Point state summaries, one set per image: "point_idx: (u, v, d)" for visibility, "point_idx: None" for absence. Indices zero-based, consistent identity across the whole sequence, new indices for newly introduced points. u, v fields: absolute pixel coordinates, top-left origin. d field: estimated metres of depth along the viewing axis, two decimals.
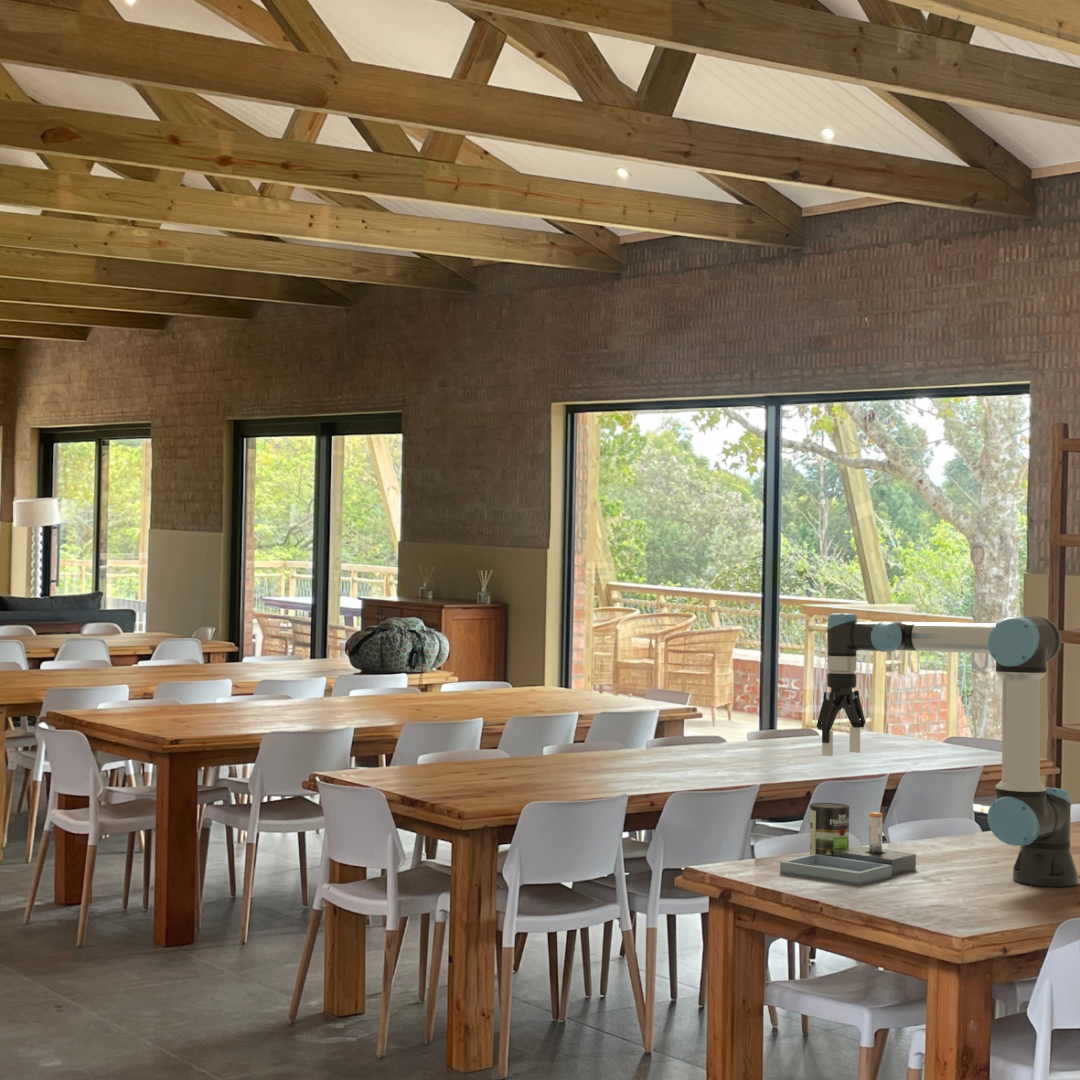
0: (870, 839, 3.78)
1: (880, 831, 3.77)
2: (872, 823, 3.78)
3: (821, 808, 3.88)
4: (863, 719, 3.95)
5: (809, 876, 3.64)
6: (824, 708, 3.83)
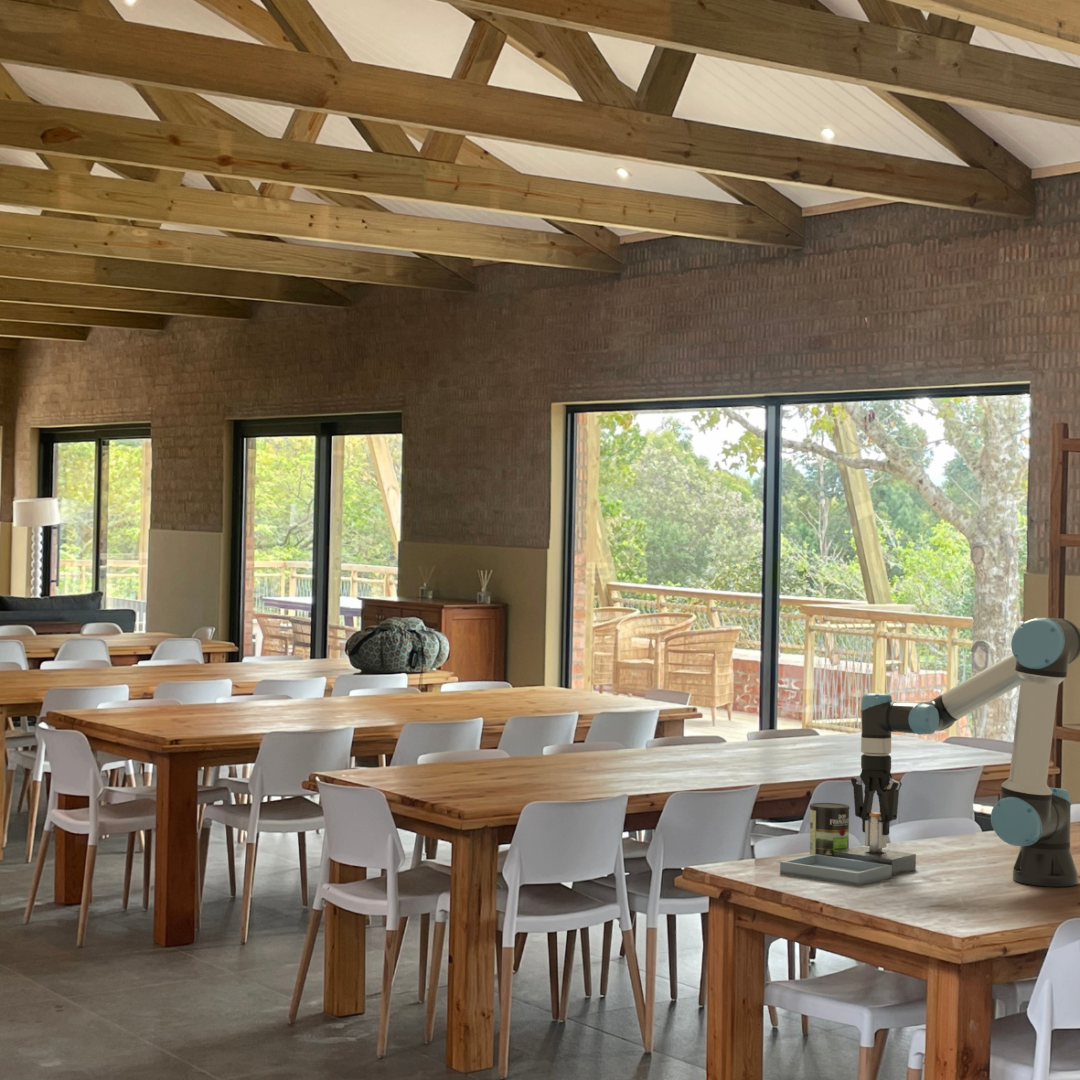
0: (870, 839, 3.78)
1: None
2: (872, 823, 3.78)
3: (821, 808, 3.88)
4: (890, 814, 3.75)
5: (809, 876, 3.64)
6: None
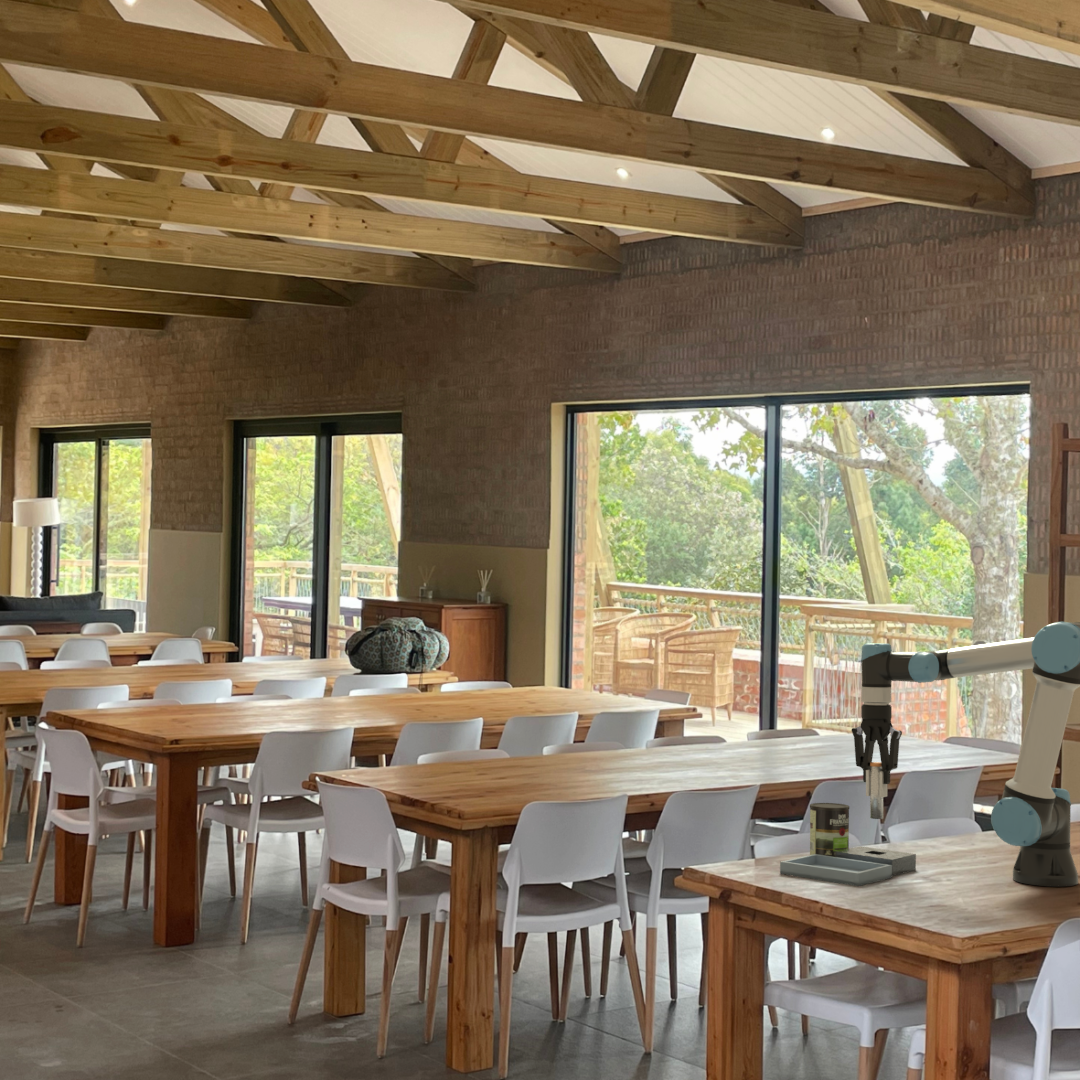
0: (871, 788, 3.79)
1: None
2: (872, 773, 3.78)
3: (821, 808, 3.88)
4: (890, 763, 3.75)
5: (809, 876, 3.64)
6: None
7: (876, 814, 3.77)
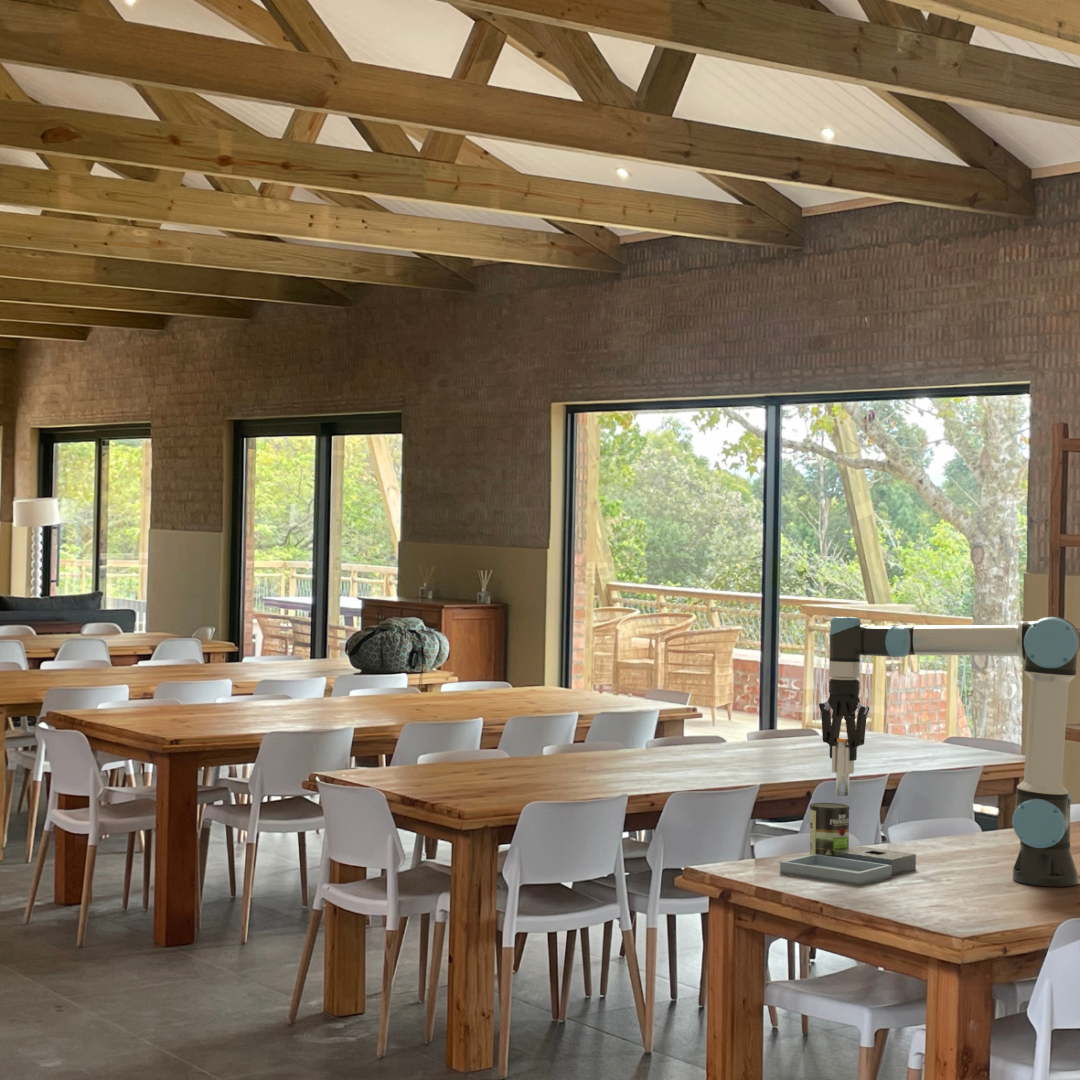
0: (837, 765, 3.71)
1: None
2: (839, 749, 3.70)
3: (821, 808, 3.88)
4: (857, 739, 3.67)
5: (809, 876, 3.64)
6: None
7: (841, 791, 3.70)
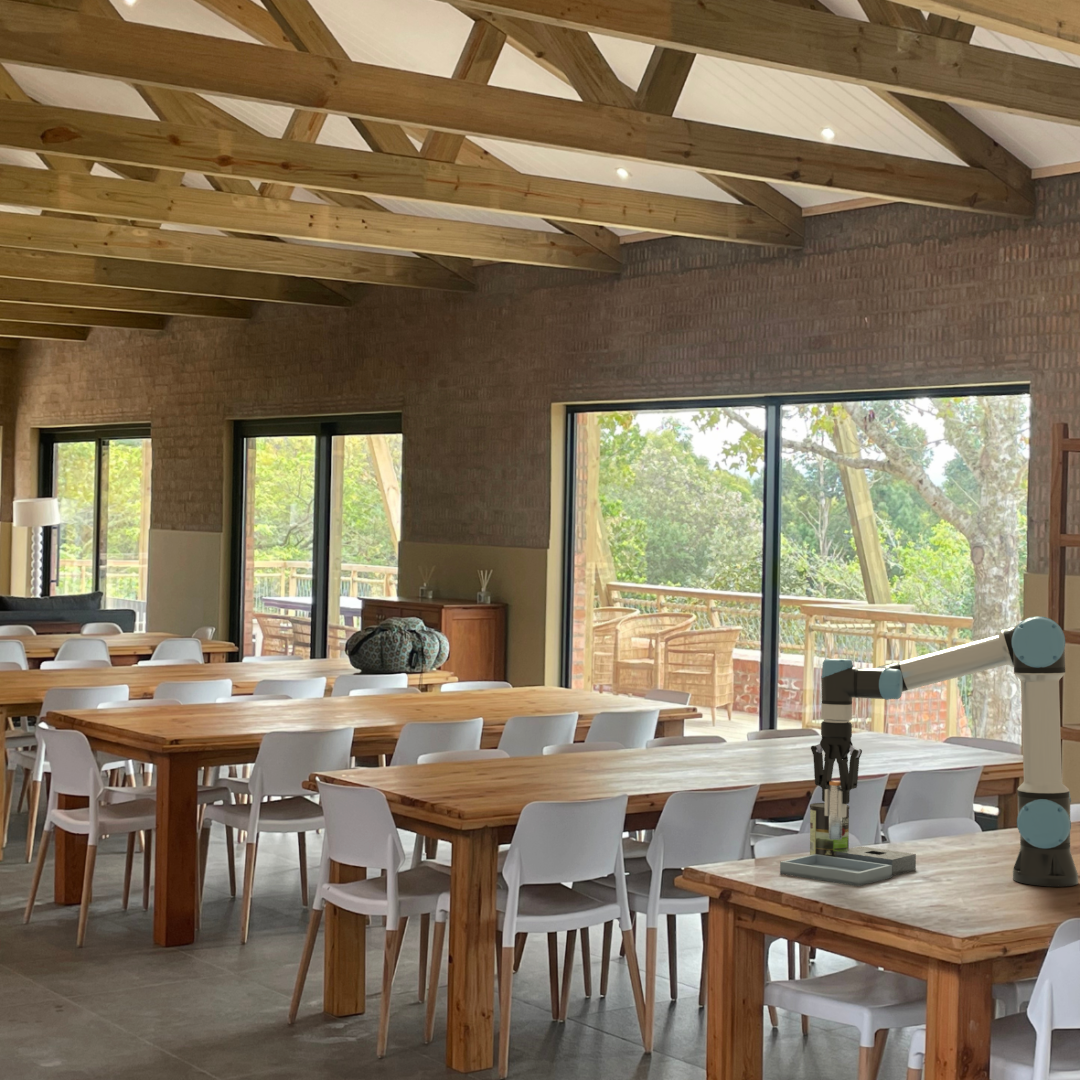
0: (830, 808, 3.68)
1: None
2: (831, 792, 3.68)
3: (821, 808, 3.88)
4: (850, 783, 3.65)
5: (809, 876, 3.64)
6: None
7: (834, 834, 3.67)
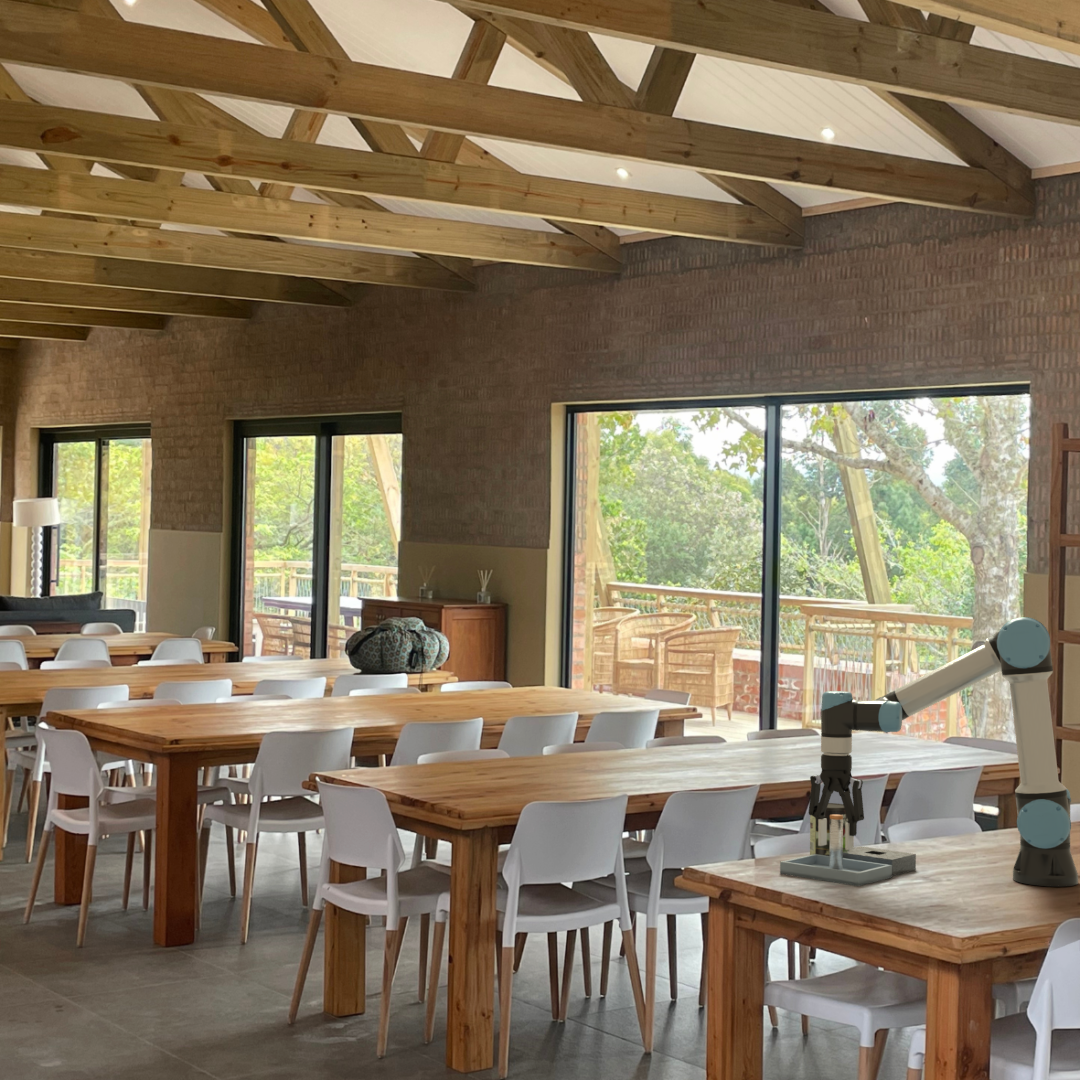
0: (830, 842, 3.68)
1: (840, 834, 3.67)
2: (832, 826, 3.67)
3: None
4: (856, 815, 3.63)
5: (809, 876, 3.64)
6: None
7: (835, 868, 3.66)
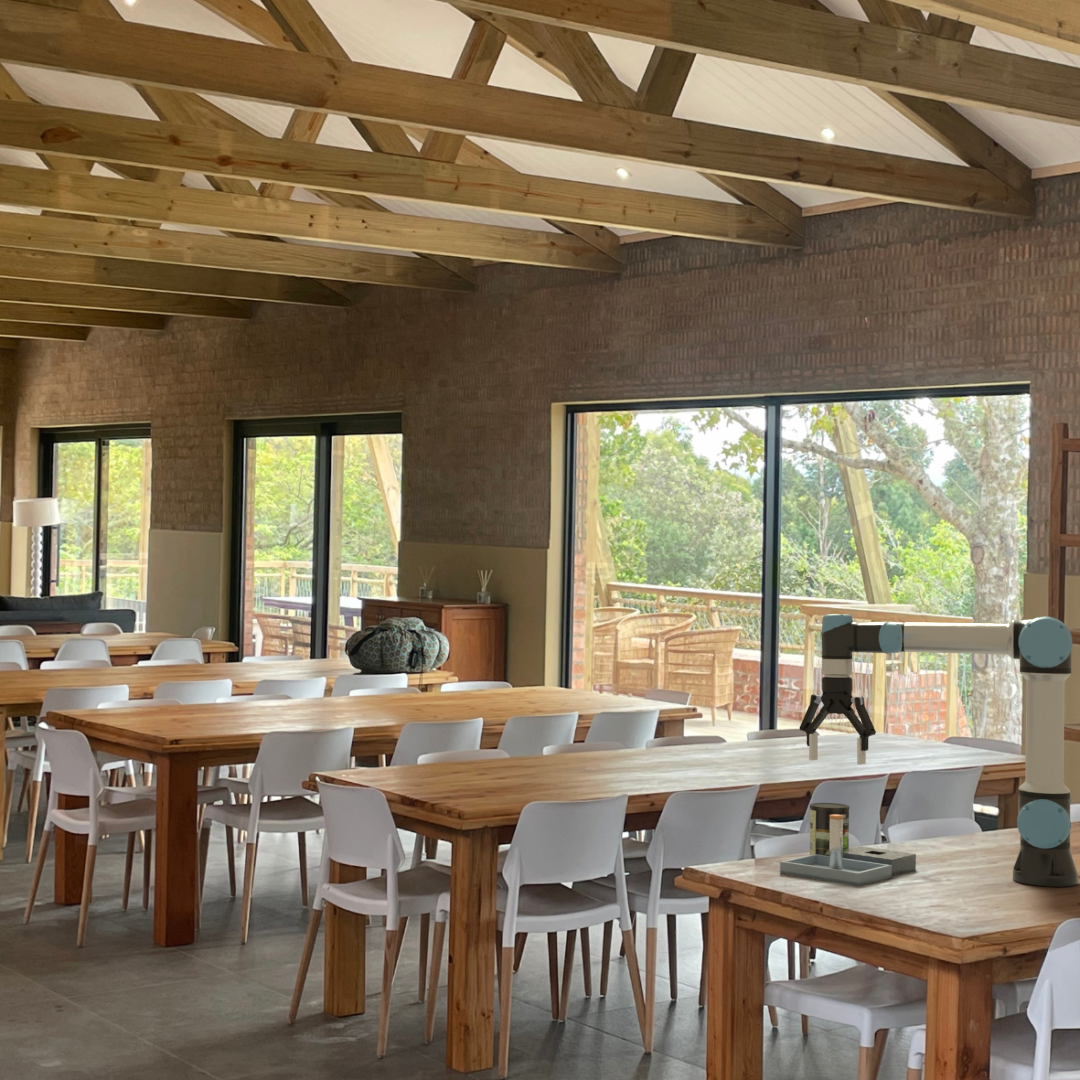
0: (830, 842, 3.68)
1: (840, 834, 3.67)
2: (832, 826, 3.67)
3: (821, 808, 3.88)
4: (867, 729, 3.62)
5: (809, 876, 3.64)
6: None
7: (835, 868, 3.66)
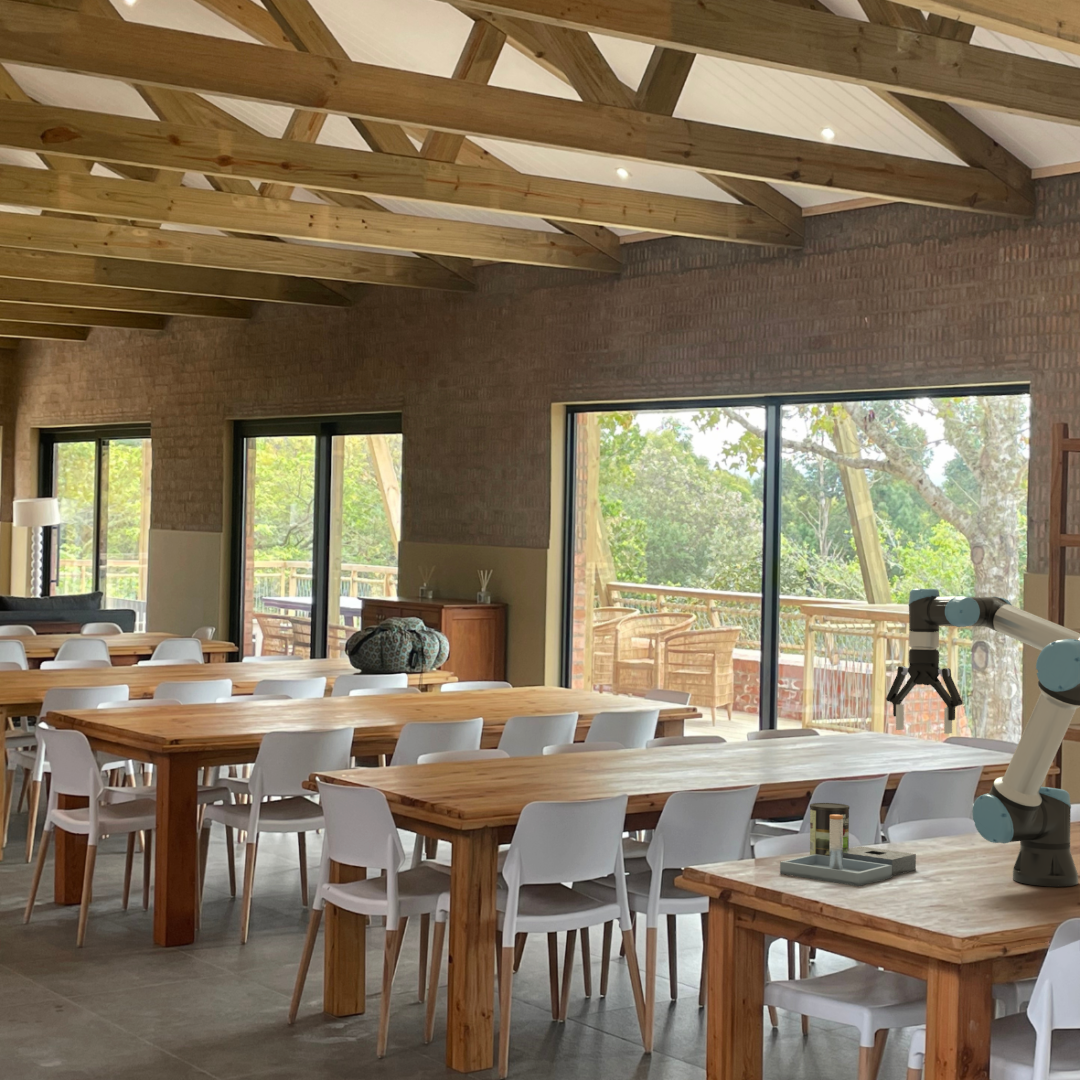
0: (830, 842, 3.68)
1: (840, 834, 3.67)
2: (832, 826, 3.67)
3: (821, 808, 3.88)
4: (954, 700, 3.75)
5: (809, 876, 3.64)
6: None
7: (835, 868, 3.66)
